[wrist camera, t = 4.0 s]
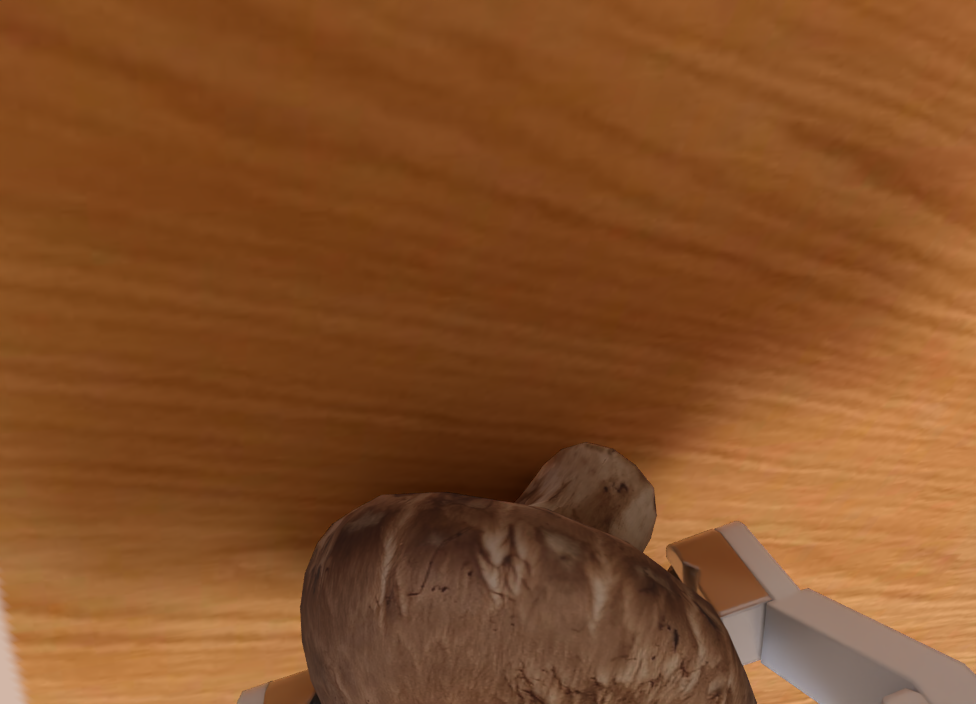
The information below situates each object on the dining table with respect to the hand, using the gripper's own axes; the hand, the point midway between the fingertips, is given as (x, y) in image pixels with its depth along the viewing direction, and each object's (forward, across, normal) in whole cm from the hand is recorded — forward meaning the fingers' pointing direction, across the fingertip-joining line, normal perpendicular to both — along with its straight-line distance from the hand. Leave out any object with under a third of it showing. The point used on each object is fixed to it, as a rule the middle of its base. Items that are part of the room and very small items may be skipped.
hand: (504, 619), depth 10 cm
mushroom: (+2, 0, 0) cm, 2 cm away
